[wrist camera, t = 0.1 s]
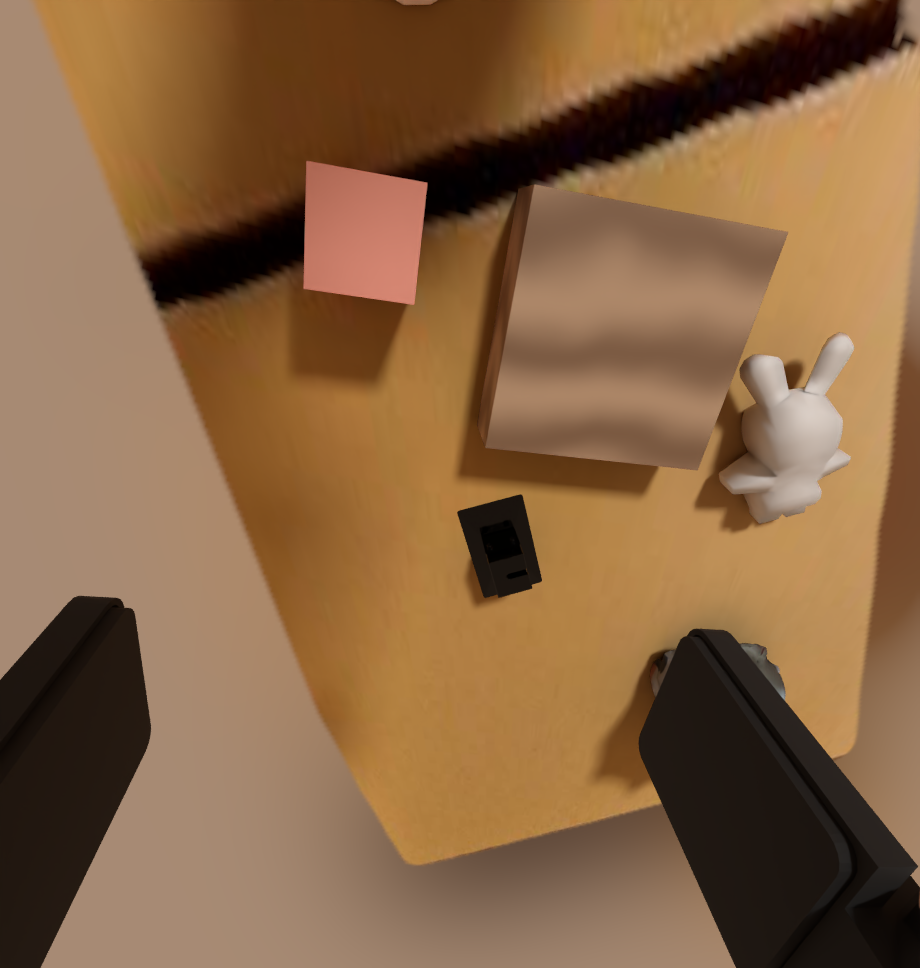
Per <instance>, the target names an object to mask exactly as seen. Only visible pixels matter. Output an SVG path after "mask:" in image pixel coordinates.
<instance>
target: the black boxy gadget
mask: <svg viewBox="0 0 920 968" xmlns="http://www.w3.org/2000/svg"><path fill="white" fill-rule="evenodd" d="M457 514H458V517H459V520H460V523H461V526H462V529H463V533H464V536H465V539H466V542H467V545H468V548H469V552H470V555H471V558H472V561H473V564H474V568H475V571H476V574H477V577H478V580H479V583H480V587H481V590H482V593H483V596H484V597H485V598H487V597H490V596H494V595H498V598H500V597H503V596H507V595H511V594H514V593H518V592H522V591H525V590H529V589H532V584H536V583H539V582H541V581H542V578H541V574H540V569H539V565H538V561H537V556H536V552H535V548H534V543H533V539H532V535H531V530H530V526H529V522H528V517H527V513H526V509H525V504H524V500H523V496H522V495H516V496H513V497H509V498H505V499H501V500H498V501H494V502H490V503H486V504H483V505H479V506H475V507H471V508H468V509H464V510H460V511H458V512H457Z"/></svg>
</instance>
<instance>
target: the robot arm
mask: <svg viewBox="0 0 920 968" xmlns="http://www.w3.org/2000/svg"><path fill="white" fill-rule="evenodd" d="M147 703H148V702H147V695H146V688H145V681H144V675H143V667H142V661H141V654H140V646H139V640H138V632H137V626H136V619H135V613H134V611H133V609H131V608H124V605H123V602H122V601H121V599H118V598H109V597H90V596H77V597H74V598H73V599H72V600H71V601H70V602H69V603H68V604H67V605H66V606H65V607H64V608H63V609H62V611H61V612H60V613H59V614H58V615H57V616H56V617H55V618H54V620H53V621H52V622H51V623H50V624H49V625H48V627H47V628H46V629H45V630H44V631H43V632H42V633H41V634H40V636H39V637H38V638H37V639H36V640H35V641H34V642H33V644H31V646H30V647H29V648H28V649H27V650H26V651H25V652H24V654H23V655H22V656H21V657H20V658H19V659H18V661H17V662H16V663H15V664H14V665H13V666H12V667H11V668H10V670H9V671H8V672H7V673H6V674H5V675H4V676H3V677H2V679H1V680H0V968H41V965H42V963H43V961H44V959H45V957H46V955H47V953H48V951H49V949H50V947H51V945H52V943H53V941H54V939H55V937H56V935H57V933H58V931H59V928H60V926H61V924H62V922H63V920H64V918H65V916H66V914H67V912H68V910H69V908H70V906H71V903H72V901H73V899H74V898H75V896H76V893H77V891H78V889H79V887H80V885H81V883H82V881H83V879H84V877H85V875H86V873H87V871H88V868H89V867H90V864H91V863H92V860H93V858H94V856H95V854H96V852H97V850H98V848H99V846H100V844H101V842H102V840H103V838H104V835H105V834H106V832H107V830H108V828H109V826H110V824H111V821H112V819H113V817H114V815H115V813H116V811H117V809H118V807H119V805H120V803H121V801H122V799H123V797H124V795H125V793H126V791H127V788H128V787H129V784H130V782H131V780H132V778H133V776H134V774H135V772H136V770H137V768H138V766H139V764H140V762H141V760H142V758H143V756H144V753H145V751H146V749H147V746H148V743H149V739H150V733H151V723H150V717H149V709H148V704H147ZM639 751H640V755H641V758H642V760H643V762H644V764H645V767H646V769H647V771H648V773H649V776H650V778H651V780H652V782H653V784H654V787H655V789H656V791H657V793H658V796H659V798H660V800H661V802H662V804H663V807H664V809H665V811H666V813H667V815H668V818H669V820H670V822H671V824H672V827H673V829H674V831H675V833H676V835H677V837H678V840H679V842H680V844H681V846H682V849H683V851H684V853H685V855H686V858H687V860H688V862H689V864H690V867H691V869H692V871H693V873H694V875H695V878H696V880H697V882H698V884H699V887H700V889H701V891H702V893H703V896H704V898H705V900H706V902H707V904H708V907H709V909H710V911H711V913H712V916H713V918H714V920H715V922H716V924H717V926H718V929H719V931H720V933H721V935H722V938H723V940H724V942H725V944H726V947H727V949H728V951H729V953H730V956H731V958H732V960H733V962H734V964H735V966H736V968H920V887H919V886H918V885H917V883H916V882H915V881H914V879H913V878H912V877H911V876H910V875H911V874H912V873H913V872H914V870H915V869H916V868H917V867H918V866H917V864H916V863H915V862H914V861H913V859H912V858H911V857H910V856H909V854H908V853H907V852H906V851H905V850H904V848H903V847H902V846H901V845H900V843H899V842H898V841H897V840H896V838H895V837H894V836H893V835H892V833H891V832H890V831H889V830H888V828H887V827H886V826H885V825H884V823H883V822H882V821H881V820H880V818H879V817H878V816H877V815H876V814H875V813H874V811H873V810H872V809H871V807H870V806H869V805H868V804H867V802H866V801H865V800H864V799H863V797H862V796H861V795H860V794H859V792H858V791H857V790H856V789H855V787H854V786H853V785H852V784H851V782H850V781H849V780H848V779H847V777H846V776H845V775H844V774H843V773H842V772H841V770H840V769H839V767H837V765H836V764H835V763H834V761H833V760H832V759H831V758H830V756H829V755H828V754H827V753H826V751H825V750H824V749H823V748H822V746H821V745H820V744H819V743H818V741H817V740H816V739H815V738H814V736H813V735H812V734H811V733H810V731H809V730H808V729H807V728H806V726H805V725H804V724H803V723H802V721H801V720H800V719H799V718H798V717H797V715H796V714H795V713H794V712H793V710H792V709H791V708H790V707H789V705H788V704H787V703H786V702H785V700H784V699H783V698H782V697H781V695H780V694H779V693H778V692H777V690H776V689H775V688H774V687H773V685H772V684H771V683H770V682H769V680H768V679H767V678H766V677H765V676H764V674H763V673H762V672H761V671H760V669H759V668H758V667H757V666H756V664H755V663H754V662H753V661H752V659H751V658H750V657H749V656H748V654H747V653H746V652H745V651H744V649H743V648H742V647H741V646H740V644H739V643H738V642H737V641H736V639H735V638H734V637H733V636H732V635H731V634H730V633H729V632H727V631H724V630H710V629H693V630H692V631H690V632H689V634H688V635H687V636H686V637H683V638H682V639H681V640H680V642H679V644H678V646H677V649H676V651H675V653H674V656H673V658H672V660H671V663H670V665H669V668H668V670H667V672H666V675H665V677H664V679H663V682H662V684H661V686H660V689H659V691H658V693H657V696H656V698H655V700H654V703H653V705H652V708H651V710H650V712H649V715H648V717H647V719H646V722H645V724H644V726H643V729H642V731H641V733H640V737H639Z"/></svg>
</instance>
